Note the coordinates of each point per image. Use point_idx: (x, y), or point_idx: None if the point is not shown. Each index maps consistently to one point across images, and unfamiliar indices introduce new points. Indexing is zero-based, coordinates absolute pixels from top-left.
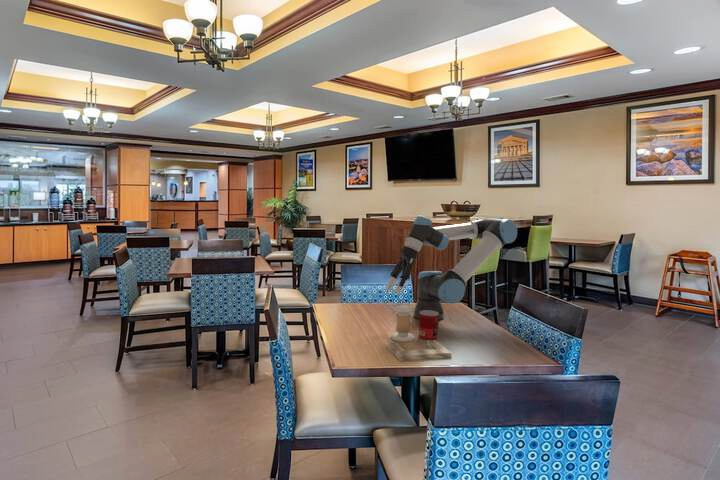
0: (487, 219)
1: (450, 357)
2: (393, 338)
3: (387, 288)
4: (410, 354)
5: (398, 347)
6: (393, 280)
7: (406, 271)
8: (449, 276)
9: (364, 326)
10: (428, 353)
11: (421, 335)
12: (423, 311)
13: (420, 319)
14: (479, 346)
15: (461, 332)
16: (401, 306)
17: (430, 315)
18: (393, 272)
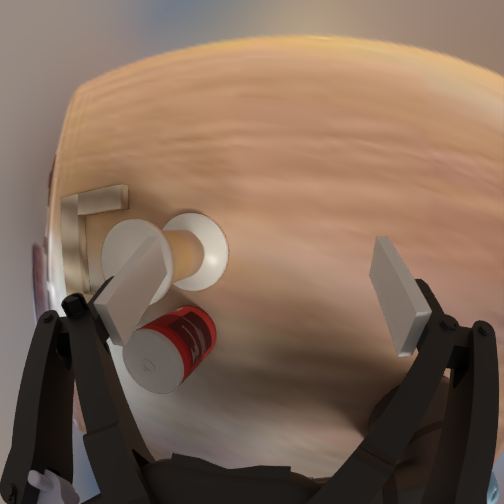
0: None
1: None
2: (177, 216)
3: (378, 251)
4: (63, 221)
5: (93, 205)
6: (398, 320)
7: (33, 359)
8: None
9: (344, 152)
10: (65, 261)
11: (176, 308)
12: (168, 354)
13: (156, 322)
14: (132, 402)
15: (232, 432)
16: None
17: (124, 349)
18: (437, 353)
